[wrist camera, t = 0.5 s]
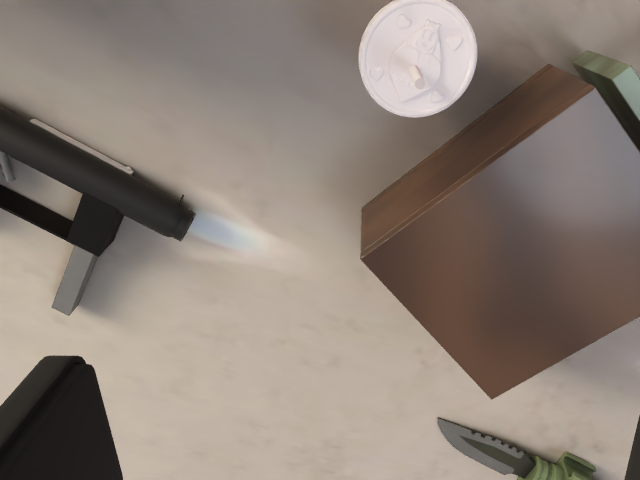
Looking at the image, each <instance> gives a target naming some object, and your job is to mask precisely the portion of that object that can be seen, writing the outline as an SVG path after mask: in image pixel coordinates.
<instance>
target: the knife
mask: <svg viewBox="0 0 640 480" xmlns="http://www.w3.org/2000/svg"><path fill="white" fill-rule="evenodd" d="M438 425H439V427H440V430H441V432H442V433H443V435H444V436H445V438H446V439H447V440H448V441H449V443H450V444H451V445H452V446H453V447H454V448H456V449H457V450H459V451H460V452H462V453H463V454H464V455H466V456H468V457H470V458H472V459H474V460H476V461H478V462H479V463H481V464H483V465H485V466H487V467H489V468H491V469H493V470H495V471H497V472H499V473H501V474H503V475H506V474H508V473H512V474H515V475H518V478H517V480H593V478H592V473H593V471H596V469H595V466H593V465H591V464H589V463H587V462H585V461H583V460H581V459H579V458H577V457H575V456H573V455H572V454H570V453H568V452H565V453H564V455H563V456H562V457H561V458H560V460H559V461H558V463H557V465H555V464H553V463H547V462H546V461H544V460H541V458H539V457H537V456H535V455H534V456H531V457H529V456H528V455H527V453H526V451H524V450H523V451H517V448H515V447H509V444H507V443H504V444H503V443H501V440H499V439H497V438H496V439H492V436H489V435H485V436H482V435H481V433H479V432H475V433H473V432H471V430H470V429H468V428H465V427H462V426H460V425H457V424H454V423H452V422H449V421H446V420H444V419H441V418H438Z"/></svg>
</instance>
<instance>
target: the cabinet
mask: <svg viewBox="0 0 640 480" xmlns="http://www.w3.org/2000/svg"><path fill="white" fill-rule="evenodd" d="M360 259H361V260H362V261H363V262H364V264H365V265H366V266H367V267H368V268H369V269H370V270H371V271H372V272H373V273H374V274H375V275H376V276H377V277H378V278H379V280H380V281H381V282H382V283H383V284H384V285H385V286H386V287H387V288H388V289H389V290H390V291H391V292H392V293H393V295H394V296H395V297H396V298H397V299H398V300H399V301H400V302H401V303H402V304H403V305H404V306H405V307H406V308H407V310H408V311H409V312H410V313H411V314H412V315H413V316H414V317H415V318H416V319H417V320H418V321H419V322H420V323H421V325H422V326H423V327H424V328H425V329H426V330H427V331H428V332H429V333H430V334H431V335H432V336H433V337H434V338H435V340H436V341H437V342H438V343H439V344H440V345H441V346H442V347H443V348H444V349H445V350H446V351H447V352H448V353H449V355H450V356H451V357H452V358H453V359H454V360H455V361H456V362H457V363H458V364H459V365H460V366H461V367H462V368H463V370H464V371H465V372H466V373H467V374H468V375H469V376H470V377H471V378H472V379H473V380H474V381H475V382H476V383H477V384H478V386H479V387H480V388H481V389H482V390H483V391H484V392H485V393H486V394H487V395H488V396H489V397H490V398H491V399H494V398H495V397H497V396H499V395H501V394H502V393H504V392H506V391H508V390H510V389H511V388H513V387H515V386H517V385H518V384H520V383H522V382H524V381H526V380H527V379H529V378H531V377H533V376H534V375H536V374H538V373H540V372H541V371H543V370H545V369H547V368H549V367H550V366H552V365H554V364H556V363H557V362H559V361H561V360H563V359H565V358H566V357H568V356H570V355H572V354H573V353H575V352H577V351H579V350H581V349H582V348H584V347H586V346H588V345H589V344H591V343H593V342H595V341H597V340H598V339H600V338H602V337H604V336H605V335H607V334H609V333H611V332H612V331H614V330H616V329H618V328H620V327H621V326H623V325H625V324H627V323H628V322H630V321H632V320H634V319H636V318H637V317H639V316H640V151H639V150H638V148H637V147H636V145H635V144H634V142H633V141H632V139H631V138H630V136H629V135H628V133H627V132H626V131H625V129H624V128H623V126H622V125H621V123H620V122H619V120H618V119H617V117H616V116H615V114H614V113H613V111H612V110H611V109H610V107H609V106H608V104H607V103H606V101H605V100H604V98H603V97H602V95H601V94H600V92H599V91H598V89H597V88H596V87H595V86H593V85H591V84H588V83H586V82H584V81H582V80H580V79H578V78H576V77H574V76H572V75H570V74H568V73H566V72H564V71H562V70H560V69H558V68H556V67H554V66H553V65H551V64H548V65H547V66H545V67H544V68H543V69H542V70H540V71H539V72H538V73H536V74H535V75H534V76H532V77H531V78H530V79H529V80H527V81H526V82H525V83H523V84H522V85H521V86H519V87H518V88H517V89H516V90H514V91H513V92H512V93H510V94H509V95H508V96H507V97H505V98H504V99H503V100H501V101H500V102H499V103H497V104H496V105H495V106H494V107H492V108H491V109H490V110H488V111H487V112H486V113H484V114H483V115H482V116H481V117H479V118H478V119H477V120H475V121H474V122H473V123H472V124H470V125H469V126H468V127H466V128H465V129H464V130H462V131H461V132H460V133H459V134H457V135H456V136H455V137H453V138H452V139H451V140H449V141H448V142H447V143H446V144H444V145H443V146H442V147H440V148H439V149H438V150H436V151H435V152H434V153H433V154H431V155H430V156H429V157H427V158H426V159H425V160H424V161H422V162H421V163H420V164H418V165H417V166H416V167H414V168H413V169H412V170H411V171H409V172H408V173H407V174H405V175H404V176H403V177H401V178H400V179H399V180H398V181H396V182H395V183H394V184H392V185H391V186H390V187H389V188H387V189H386V190H385V191H383V192H382V193H381V194H379V195H378V196H377V197H376V198H374V199H373V200H372V201H370V202H369V203H368V204H366V205H365V206H364V207H363V208H362V224H361V255H360Z"/></svg>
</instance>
